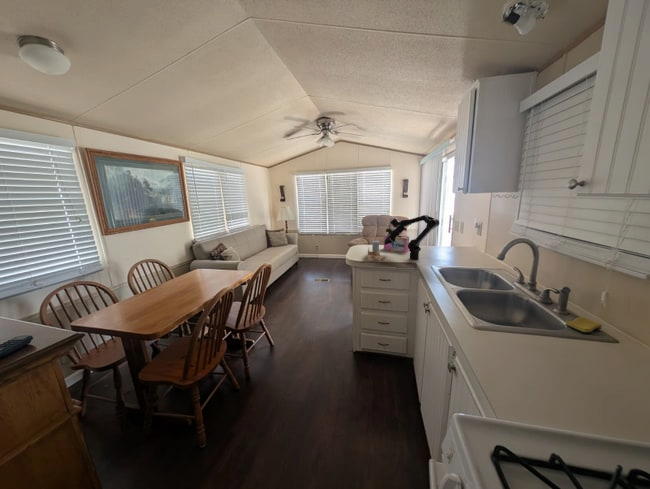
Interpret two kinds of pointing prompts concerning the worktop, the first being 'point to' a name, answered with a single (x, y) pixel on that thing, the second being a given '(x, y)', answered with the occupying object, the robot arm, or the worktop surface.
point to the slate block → (375, 246)
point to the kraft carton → (375, 256)
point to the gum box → (398, 244)
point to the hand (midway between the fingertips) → (384, 243)
